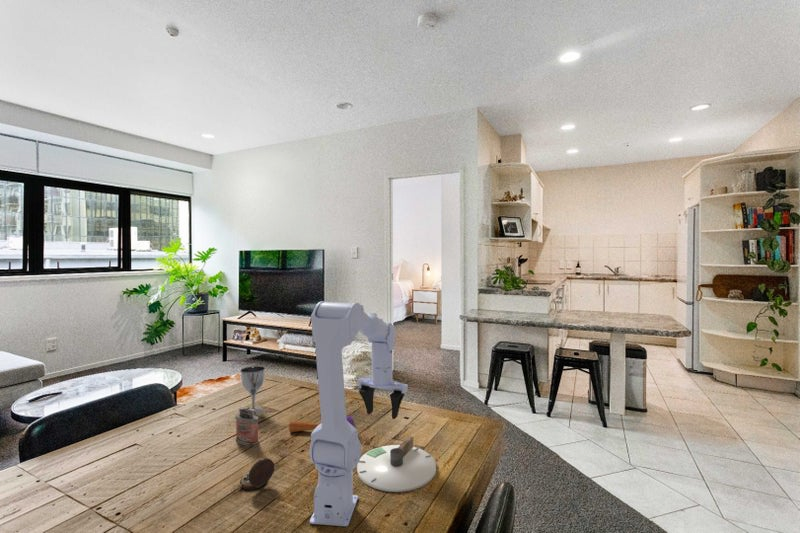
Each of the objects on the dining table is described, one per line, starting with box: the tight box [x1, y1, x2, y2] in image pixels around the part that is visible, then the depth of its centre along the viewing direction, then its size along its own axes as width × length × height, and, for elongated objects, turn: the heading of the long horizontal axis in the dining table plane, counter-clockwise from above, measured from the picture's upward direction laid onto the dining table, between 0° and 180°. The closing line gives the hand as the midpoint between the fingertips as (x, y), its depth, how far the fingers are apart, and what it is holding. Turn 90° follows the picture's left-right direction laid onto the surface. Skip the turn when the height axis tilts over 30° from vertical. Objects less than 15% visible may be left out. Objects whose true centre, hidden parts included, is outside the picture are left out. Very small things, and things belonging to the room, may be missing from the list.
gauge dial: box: [356, 444, 437, 493], centre depth 98 cm, size 20×20×1 cm
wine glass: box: [240, 365, 266, 416], centre depth 134 cm, size 8×8×15 cm
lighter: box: [235, 406, 260, 447], centre depth 112 cm, size 8×3×10 cm, turn 62°
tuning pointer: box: [390, 435, 414, 466], centre depth 101 cm, size 11×3×3 cm, turn 153°
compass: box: [232, 457, 275, 491], centre depth 90 cm, size 8×8×7 cm
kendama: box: [288, 414, 355, 433], centre depth 118 cm, size 6×6×20 cm
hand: (382, 415), depth 106 cm, fingers open, 7 cm apart
